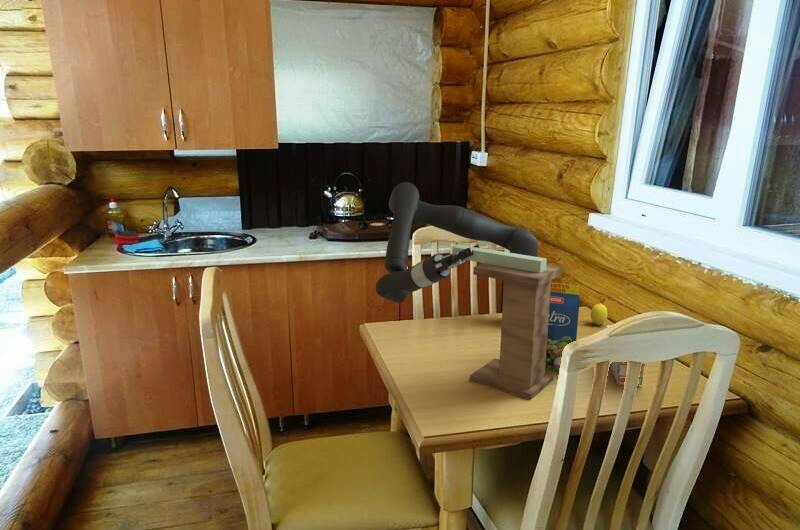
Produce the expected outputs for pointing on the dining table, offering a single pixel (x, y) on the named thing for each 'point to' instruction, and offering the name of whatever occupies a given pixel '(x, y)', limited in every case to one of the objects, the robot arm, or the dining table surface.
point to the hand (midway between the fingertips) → (475, 249)
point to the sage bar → (504, 259)
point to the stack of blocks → (623, 372)
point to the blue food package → (561, 322)
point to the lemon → (599, 314)
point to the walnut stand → (520, 331)
